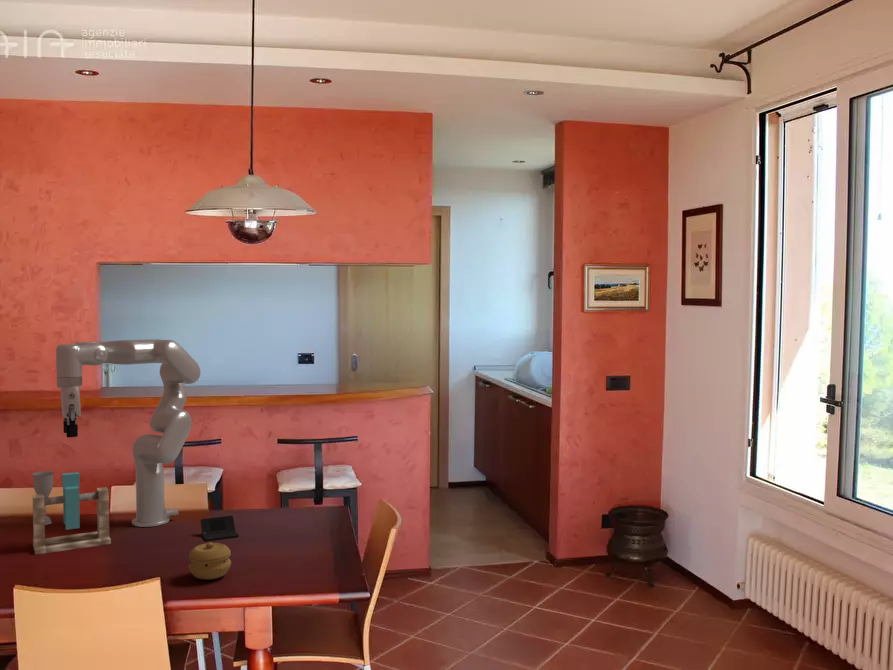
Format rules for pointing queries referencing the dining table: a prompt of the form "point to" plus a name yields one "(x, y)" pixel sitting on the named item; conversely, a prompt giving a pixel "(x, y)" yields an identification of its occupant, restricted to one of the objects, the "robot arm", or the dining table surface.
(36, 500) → the rack
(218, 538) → the handheld gaming console
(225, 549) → the pot
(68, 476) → the teal rectangular block
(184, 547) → the dining table surface
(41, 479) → the chalice
